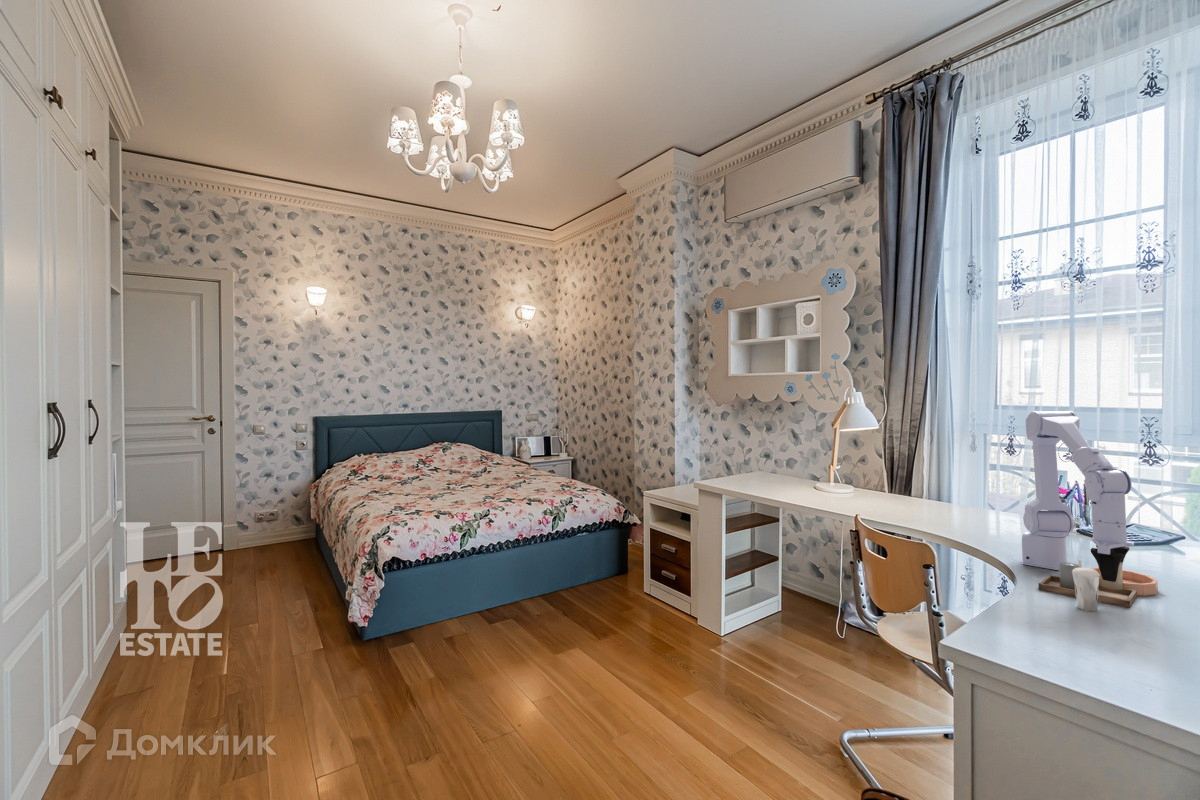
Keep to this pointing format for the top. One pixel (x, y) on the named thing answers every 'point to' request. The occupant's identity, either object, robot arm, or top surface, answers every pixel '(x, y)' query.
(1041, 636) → the top surface
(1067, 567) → the grey cylinder
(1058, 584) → the tray
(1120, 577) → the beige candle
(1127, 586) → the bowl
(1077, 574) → the milkshake
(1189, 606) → the top surface
